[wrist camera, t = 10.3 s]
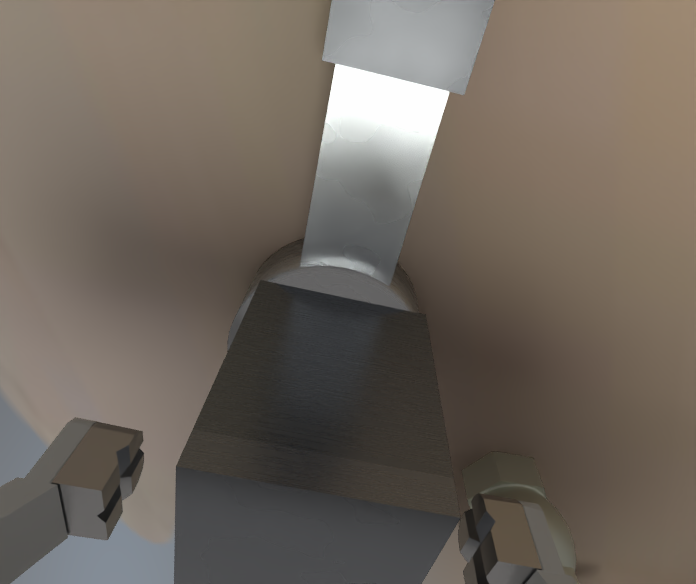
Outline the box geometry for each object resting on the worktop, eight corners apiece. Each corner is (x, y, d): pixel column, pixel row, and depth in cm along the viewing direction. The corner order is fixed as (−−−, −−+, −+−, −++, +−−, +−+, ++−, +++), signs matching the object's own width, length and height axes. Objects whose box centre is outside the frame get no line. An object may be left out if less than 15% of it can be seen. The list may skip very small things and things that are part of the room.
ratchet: (659, -345, 9) (1089, -904, 3) (392, 390, 19) (398, 528, 14) (333, -449, 8) (263, -1259, 3) (241, 360, 18) (189, 491, 13)
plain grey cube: (425, 314, 13) (460, 517, 8) (383, 427, 16) (387, 640, 10) (260, 280, 13) (176, 466, 7) (244, 400, 16) (173, 605, 10)
